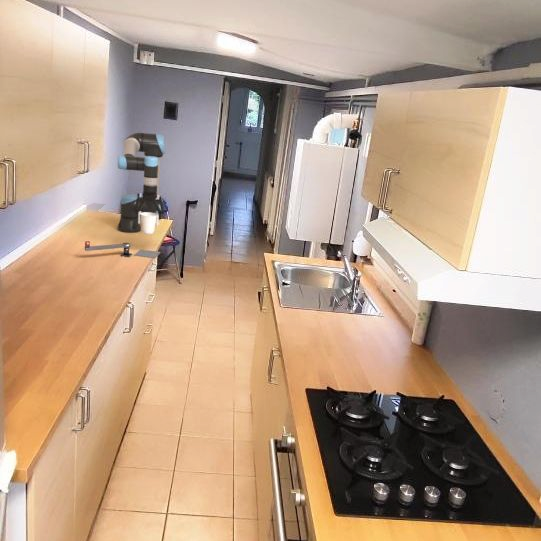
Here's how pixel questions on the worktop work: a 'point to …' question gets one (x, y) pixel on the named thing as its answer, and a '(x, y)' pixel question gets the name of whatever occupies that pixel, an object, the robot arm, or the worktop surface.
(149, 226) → the cup
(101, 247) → the lever
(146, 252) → the mat
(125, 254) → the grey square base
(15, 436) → the worktop surface
